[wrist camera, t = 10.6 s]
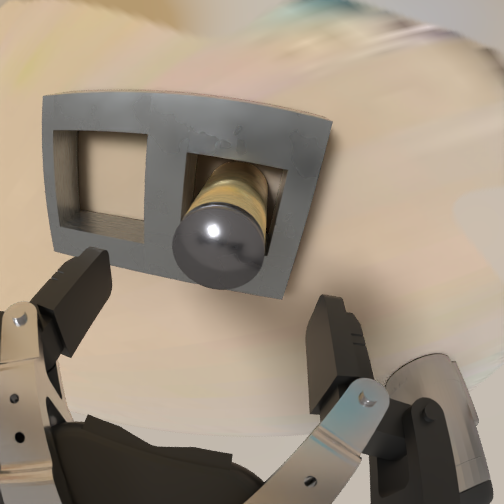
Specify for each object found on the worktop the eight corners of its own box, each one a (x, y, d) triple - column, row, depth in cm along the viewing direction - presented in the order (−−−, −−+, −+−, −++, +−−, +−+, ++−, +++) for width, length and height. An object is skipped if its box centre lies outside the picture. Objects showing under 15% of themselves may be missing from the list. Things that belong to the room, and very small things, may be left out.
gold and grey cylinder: (273, 167, 18) (273, 219, 12) (261, 221, 20) (254, 296, 14) (211, 156, 18) (174, 201, 11) (204, 211, 20) (171, 280, 14)
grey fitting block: (323, 116, 16) (332, 121, 14) (281, 274, 23) (282, 299, 20) (68, 91, 16) (42, 95, 13) (73, 233, 22) (54, 251, 19)
